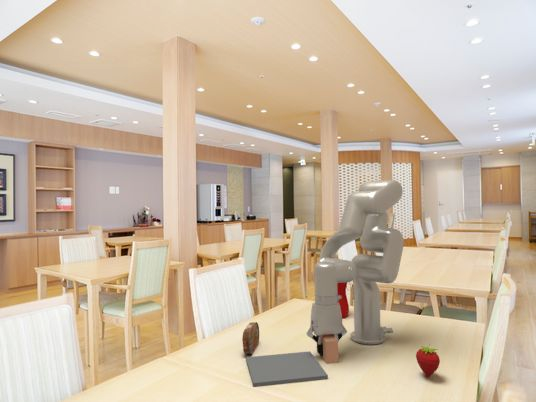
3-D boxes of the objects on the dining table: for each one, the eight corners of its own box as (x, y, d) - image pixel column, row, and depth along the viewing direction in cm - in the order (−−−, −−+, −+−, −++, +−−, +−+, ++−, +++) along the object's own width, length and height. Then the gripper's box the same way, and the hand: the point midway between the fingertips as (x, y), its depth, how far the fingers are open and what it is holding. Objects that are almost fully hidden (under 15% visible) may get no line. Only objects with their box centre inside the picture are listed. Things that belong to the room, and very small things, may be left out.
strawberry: (428, 369, 114) (428, 337, 114) (445, 381, 107) (444, 346, 107) (411, 372, 113) (410, 339, 113) (427, 384, 106) (426, 348, 106)
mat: (310, 354, 127) (310, 351, 127) (327, 378, 110) (327, 375, 110) (245, 360, 123) (245, 357, 123) (253, 386, 106) (253, 383, 106)
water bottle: (347, 320, 162) (346, 262, 162) (323, 316, 168) (322, 261, 168) (354, 314, 170) (353, 259, 170) (332, 311, 176) (331, 258, 176)
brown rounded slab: (250, 358, 125) (249, 333, 125) (241, 357, 126) (240, 332, 126) (260, 341, 140) (259, 319, 140) (252, 341, 141) (251, 318, 141)
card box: (328, 350, 131) (327, 329, 131) (338, 362, 121) (338, 340, 121) (317, 351, 130) (316, 330, 130) (326, 363, 120) (326, 341, 120)
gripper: (345, 295, 130) (346, 347, 131) (299, 298, 128) (300, 352, 128) (354, 300, 123) (355, 356, 123) (305, 304, 120) (306, 361, 120)
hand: (327, 353), depth 125 cm, fingers closed on card box, 4 cm apart
